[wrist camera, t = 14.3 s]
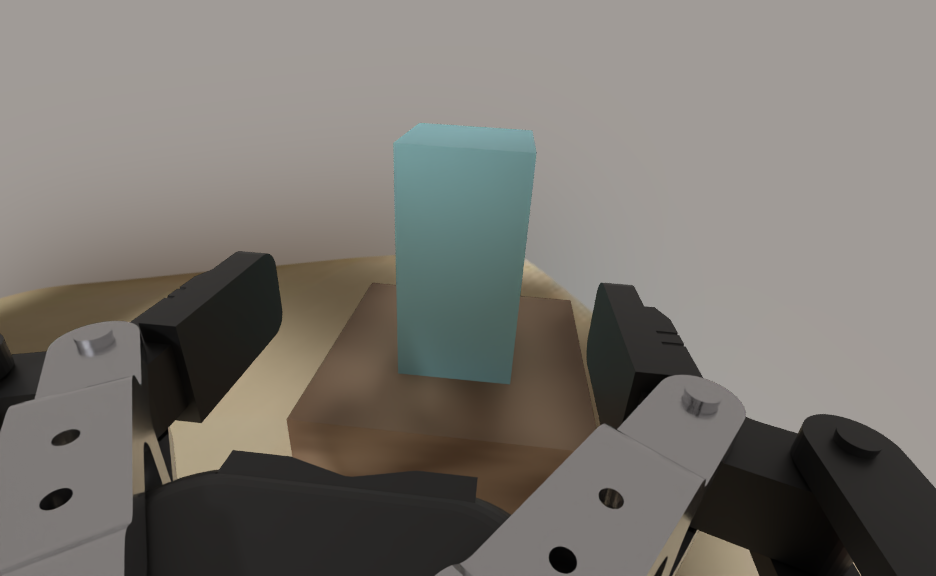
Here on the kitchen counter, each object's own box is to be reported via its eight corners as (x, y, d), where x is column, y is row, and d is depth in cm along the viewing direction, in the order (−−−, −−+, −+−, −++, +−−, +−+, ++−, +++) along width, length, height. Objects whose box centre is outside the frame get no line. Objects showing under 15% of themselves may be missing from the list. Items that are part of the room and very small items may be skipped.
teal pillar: (398, 373, 21) (393, 143, 17) (418, 317, 26) (419, 122, 21) (510, 384, 21) (536, 152, 16) (511, 325, 25) (532, 130, 21)
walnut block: (300, 507, 21) (286, 419, 18) (375, 350, 31) (372, 282, 29) (580, 541, 20) (601, 453, 18) (558, 368, 31) (570, 300, 28)
